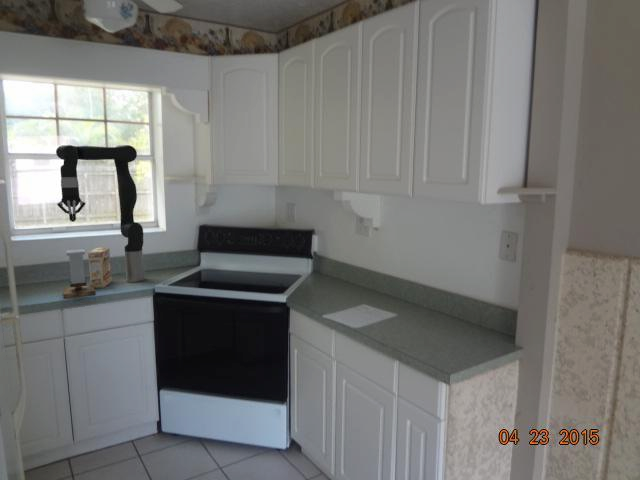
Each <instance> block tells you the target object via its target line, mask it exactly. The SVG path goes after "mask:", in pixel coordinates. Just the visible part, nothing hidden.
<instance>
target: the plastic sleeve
mask: <svg viewBox="0 0 640 480" xmlns="http://www.w3.org/2000/svg"><path fill="white" fill-rule="evenodd" d="M65 251H66V257H68V258H69V270H70V281H71V283H72V284H77V283H85V280H86V279H85V268H84V265H85V264H84V256H85V255H86V251H85V249H84V248H83V249H81V248H80V249H70V250H69V249H68V250H65Z"/></svg>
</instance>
